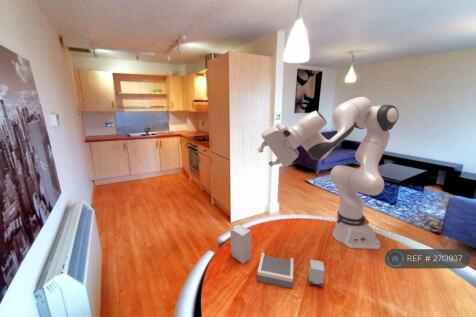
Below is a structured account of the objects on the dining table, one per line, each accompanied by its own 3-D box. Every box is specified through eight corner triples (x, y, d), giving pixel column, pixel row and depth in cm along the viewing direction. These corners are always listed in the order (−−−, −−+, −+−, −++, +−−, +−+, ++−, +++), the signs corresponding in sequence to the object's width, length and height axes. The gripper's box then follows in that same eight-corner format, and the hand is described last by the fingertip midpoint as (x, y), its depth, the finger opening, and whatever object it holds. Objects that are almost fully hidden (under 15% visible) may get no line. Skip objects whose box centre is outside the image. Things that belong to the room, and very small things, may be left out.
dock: (292, 266, 95) (293, 258, 93) (292, 288, 83) (293, 279, 82) (261, 260, 98) (261, 252, 97) (257, 281, 87) (257, 271, 86)
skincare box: (251, 258, 100) (252, 230, 96) (242, 264, 96) (242, 235, 92) (239, 249, 106) (239, 223, 102) (230, 255, 101) (229, 228, 98)
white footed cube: (320, 277, 89) (322, 261, 87) (322, 288, 83) (324, 271, 82) (308, 275, 90) (310, 259, 88) (309, 285, 85) (310, 268, 83)
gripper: (297, 151, 99) (273, 168, 101) (276, 119, 88) (250, 139, 90) (303, 158, 93) (278, 176, 95) (282, 125, 83) (254, 146, 85)
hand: (264, 158), depth 93 cm, fingers open, 8 cm apart
